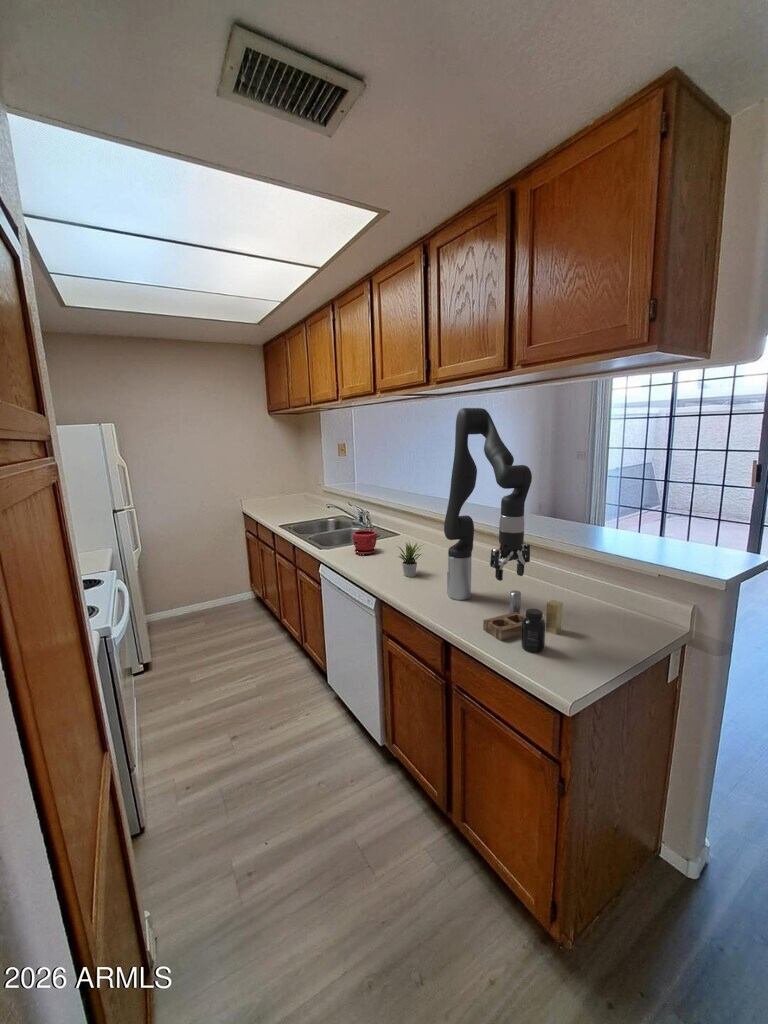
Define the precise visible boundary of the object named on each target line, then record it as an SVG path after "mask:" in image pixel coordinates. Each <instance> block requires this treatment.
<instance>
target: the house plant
mask: <svg viewBox="0 0 768 1024" xmlns="http://www.w3.org/2000/svg"><path fill="white" fill-rule="evenodd" d="M422 546H423V544H421V545H419V546H418V542H416V543H415V544H414V546H412V545H411V543H410V541H409V540H408V541H407V542H405V552H404V550H403V549H402V548H401V547H400V546H399V545H396V547H398V549H399V550H400V551H401V552H402V553H403V554H402V553H401V552H399V554H400V555H398V556H397V557H398V558H400V559H401V560H403V561H402V562H401V564H402V570H403V574H404V575H405V576H404V575H403V576H404V577H406V576H408V577H407V578H414V577H415V576H416V573H417V566H418V561H417V560H418V558H419V557H420V556H422V557H423V554H422V553H420V554H419V553H418V552H420V550H423V549H425V548H424V547H423V548H421V547H422ZM413 576H414V577H413Z"/></svg>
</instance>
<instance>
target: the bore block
mask: <svg viewBox="0 0 768 1024" xmlns="http://www.w3.org/2000/svg"><path fill="white" fill-rule="evenodd" d="M525 617H526V616H524V615H523V614H521V613H520V614H519V613H517V612H513V613H510V612H509V613H505V614H502V615H498V616H494V617H490V618H486V619H483V622H482V623H483V625H482V626H483V630H484V631H485V632H486V633H487V634H489V635H491V636H493V637H494V638H495V639H497V640H499V641H500V642H503V641H506V640H510V639H512V638H516V637H519V636H522V620H523V619H524V618H525Z"/></svg>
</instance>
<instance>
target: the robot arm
mask: <svg viewBox="0 0 768 1024" xmlns="http://www.w3.org/2000/svg"><path fill="white" fill-rule="evenodd" d="M470 435H482V436H483V437H484V438H485V441H484V446H483V453H484V455H485V457H486V460H487V461H488V462H489V464H490V465H491V466H492V469H493V473H494V477H495V482H496V483H497V485H498V486H499V487H500V488H502V489H504V490H505V489H507V490H509V489H513V490H512V492H511V493H510V494H508V495H504V496H503V497H502V498H501V501H500V519H499V531H498V532H499V533H498V543H499V548H497V549H496V548H492V549H491V552H490V563H489V567H491V568H493V569H495V576H494V577H495V579H496V580H498V581H500V582H501V581H503V576H504V567H505V565H507V564H508V562H511V561H516V562H517V564H516V575H517V576H520V577H523V576H524V574H525V565H526V564H527V563H530V561H531V558H530V557H531V545H530V544H527V543H525V542H524V541H525V522H526V521H525V503H526V500H527V497H528V494H529V491H530V488H531V484H532V479H533V473H532V471H531V469H530V467H528V465H524V464H518V465H517V464H516V465H514V461H515V458H514V456H513V454H512V453H511V451H510V450H509V449H508V447H507V445H505V443H504V441H503V440H502V439H501V437H500V435H499V432H498V430H497V427H496V426H495V423H494V421H493V418H492V417H491V415H490V413H489V411H487V409H485V408H482V407H481V408H480V407H464V408H463V407H462V408H460V409H459V411H458V413H457V414H456V420H455V437H454V438H455V439H454V441H455V443H454V454H453V455H454V456H453V462H452V463H453V464H452V472H451V478H450V490H449V497H448V498H449V499H448V504H447V509H446V514H445V518H444V522H443V524H444V526H443V533H444V537H445V538H446V540H450V541H457V542H456V543H454V544H453V545H452V546H450V547H449V548H448V550H447V551H448V552H447V555H448V557H447V559H448V563H447V564H448V566H447V567H448V568H447V569H448V570H447V573H446V576H447V577H446V579H447V580H446V583H447V584H446V591H447V592H446V594H447V596H448V597H449V598H450V599H453V600H456V601H466V600H468V599H471V597H472V558H473V557H472V554H473V550H474V536H475V524H474V521H473V518H472V517H471V516H470V515H465V514H464V515H460V513H461V511H462V507H463V506H464V504H465V503H466V501H467V500H468V499H469V497H470V496H471V495H472V493H473V492H474V490H475V488H476V483H477V476H478V468H477V467H478V466H477V465H476V463H475V460H474V459H473V457H472V454H471V453H470V449H469V441H468V440H469V436H470Z"/></svg>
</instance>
